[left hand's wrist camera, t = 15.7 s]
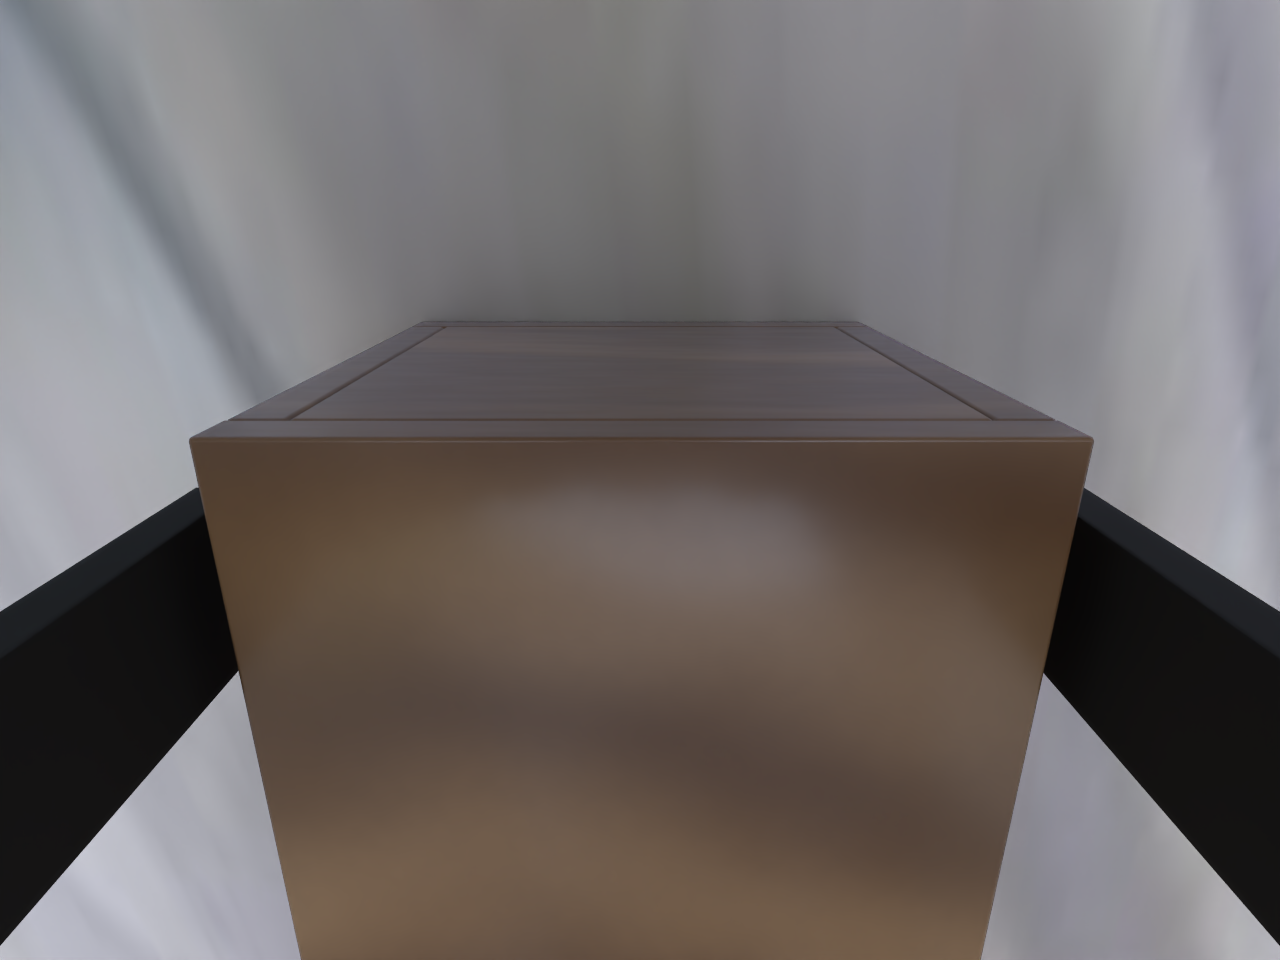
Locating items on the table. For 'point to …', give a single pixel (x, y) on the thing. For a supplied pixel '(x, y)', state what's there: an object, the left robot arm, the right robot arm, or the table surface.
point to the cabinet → (641, 639)
